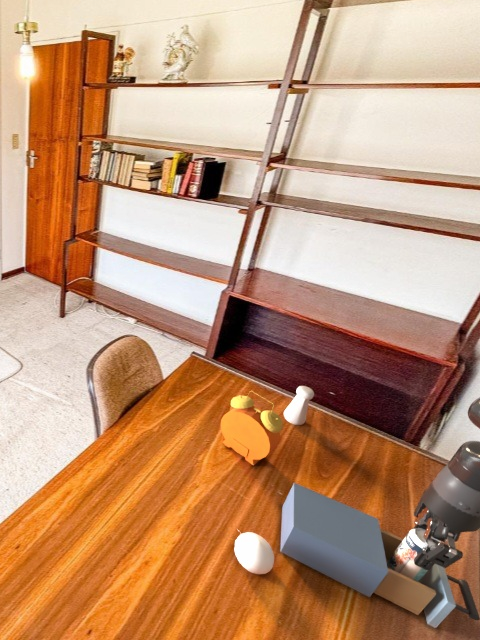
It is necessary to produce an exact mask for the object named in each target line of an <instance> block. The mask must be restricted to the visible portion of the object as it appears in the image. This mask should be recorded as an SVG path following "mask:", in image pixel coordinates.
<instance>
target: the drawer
mask: <svg viewBox="0 0 480 640" xmlns="http://www.w3.org/2000/svg"><path fill="white" fill-rule="evenodd" d="M380 530H381V535H382V541H383V546H384V551H385V557H386V562H388V560H389V559H390V557H391V556H392V555H393V553H394V552H395V551H396V549H397V548H398V546H399V545H400V544H401V542H402V541H403V540H404V538H403V537H400V536H398V535H396V534H393V533H391V532H390V531H387V530H384V529H382V528H380ZM450 582H452V583H454V584H456V585H458V587H459V590H460V594H461V597H462V599H463V602H464V606H465V607H464V606H461V605H460V604H457V603H456V601H455V598H454V597H455V596H454V594H453V591H452V587H451V585H450ZM373 594H375V595H377V596H379V597H381V598H383V599H385V600H387V601H389V602H391V603H393V604H395V605H397V606H399V607H401V608H403V609H405V610H407V611H409V612H410V613H413V614H414V615H417V616H419V615H420V614H421V613H422V612H423V611H424V616H425V620H426V624H427V625H428V626H430V627H432V628H434V629H437V628H438V627H439V625H440V624H441V623H442V622H444V620H445V619H446V618H447V617H448V616H449V615H450V614H451V613H452V611H453V610H454V609H456V610H458V611H460V612H462V613H463V614H466V615H467V616H468V618H470V619H471V620H473V621H478V622H479V621H480V614H479V612H478V608H477V606H476V603H475V600H474V598H473V597H474V596H473V594H472V591H471V588H470V586H469V583H468V581H466V579H462V578H459V579H457V578H455V577H453V576H452V575H449V574H447V572H446V568H444V567H442V566H439V565H437V564H434V565H433V566H432V568H431V569H430V570H428V571H427V572H426V574H425V575H424V576H423V577H422V579H421V580H420V581H419V582H417V581H415V580H412V579H410V578H408V577H406V576H404V575H402V574H400V573H398V572H396V571H393V570H391V569H389V568H388V574H387V575H386V576H385V578H384V579H383V580H382V582H381V583H380V584H379V586H378V587H377V588H376V590H375V591H374V592H373Z"/></svg>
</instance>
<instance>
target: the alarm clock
mask: <svg viewBox="0 0 480 640" xmlns="http://www.w3.org/2000/svg"><path fill="white" fill-rule="evenodd" d="M251 392H252V394H255V395H257V396H258V397H260V398H262V399H264V400H265V401H267V402H268V403H270V404H272V405H273V406H272V409H271V410H270V409H267V410H264V409H262V408H260V407H259V406H256V405H255V401H254V400H253V398H252V397H250V396H249V395H250V394H251ZM230 406H231V407H232V409H231V410H229V411H228V412H226V413H225V414H223V416H222V418H221V420H220V430H221V434H222V436H223V438H224V440H223V441H221V443H222V444H224V446H226V447H227V448H231V449H232V450H234V452H236V453H237V454H239V455H241V456H242V457H243V458H244V459H245V461H246V462H247V463H249V464H251V465H252V466H255V465H256V464H257V463H258V462H259V461H261V460H262V459H264V458H266V457H268V456H269V454H271V453H272V452H273V451H274V450H275V449H276V448H277V446H279V444H280V440H281V434H280V432H281V431H282V430H283V428H284V422H283V420H282V417H281V416H280V415H279V414H278V413H276V411H274V407H275V404H274V402H271V401H270V400H269V399H267V398H265V397H263V396H262V395H260V394H258V393H257V392H255V391H253V390H250V391H249V392H248V395H241V394H239V395H238V396H234V397H232V398H231V400H230Z"/></svg>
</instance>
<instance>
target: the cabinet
mask: <svg viewBox="0 0 480 640" xmlns="http://www.w3.org/2000/svg"><path fill="white" fill-rule="evenodd" d="M380 529H381V525H380V519H379V518H378V517H374V516H373V515H370V514H367V513H366V512H363V511H361V510H359V509H356V508H354V507H352V506H349V505H347V504H345V503H342V502H341V501H338V500H336V499H333V498H331V497H328V496H327V495H324V494H322V493H320V492H317V491H315V490H312V489H310V488H307V487H306V486H303V485H301V484H299V483H296V482H293V483H292V486H291V488H290V490H289V492H288V494H287V496H286V498H285V501H284V503H283V505H282V508H281V529H280V550H279V552H280V553H281V554H284V555H286V556H288V557H289V558H291V559H293V560H295V561H298V562H299V563H301V564H303V565H305V566H307V567H309V568H310V569H311V568H312V569H313V570H315V571H317V572H319V573H321V574H323V575H325V576H326V577H328V578H331V579H332V580H334V581H337V582H338V583H341V584H342V585H344V586H346V587H348V588H349V589H352V590H354V591H356V592H357V593H360V594H362V595H363V596H366V597H367V598H371V596H372V594H374V593H373V592H374V591H375V590H376V588H377V587H378V586H379V584H380V583H381V582H382V580H383V579H384V578H385V576H386V575H387V574H388V568H387V562H386V557H385V551H384V546H383V541H382V535H381V530H380Z"/></svg>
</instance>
